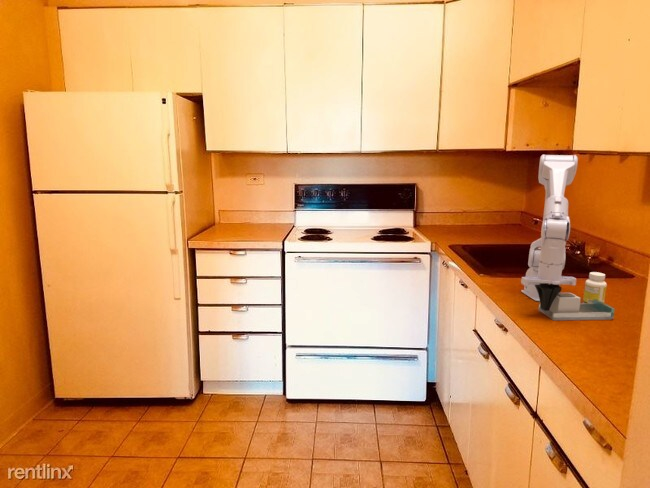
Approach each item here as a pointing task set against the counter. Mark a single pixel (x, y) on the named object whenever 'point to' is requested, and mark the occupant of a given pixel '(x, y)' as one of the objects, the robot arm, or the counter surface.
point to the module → (565, 303)
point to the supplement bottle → (595, 288)
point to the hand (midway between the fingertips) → (544, 309)
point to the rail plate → (584, 312)
